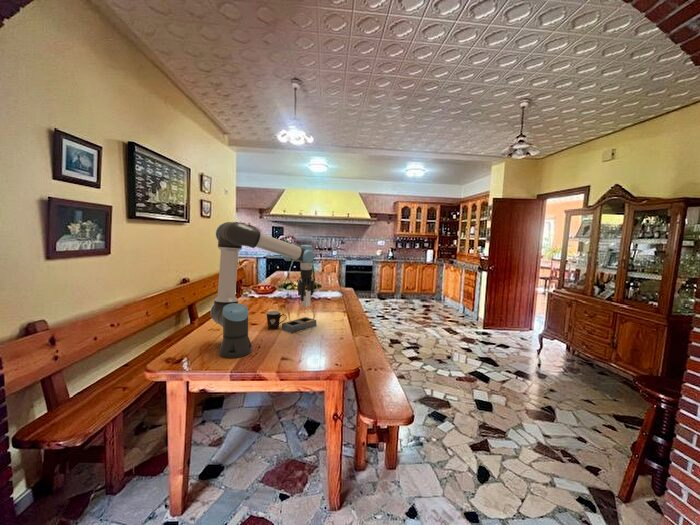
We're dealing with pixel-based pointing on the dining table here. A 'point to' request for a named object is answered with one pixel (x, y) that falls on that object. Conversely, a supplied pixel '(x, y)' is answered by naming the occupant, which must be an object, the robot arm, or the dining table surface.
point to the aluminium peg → (307, 298)
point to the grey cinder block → (298, 325)
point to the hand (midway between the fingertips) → (305, 304)
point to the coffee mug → (274, 319)
